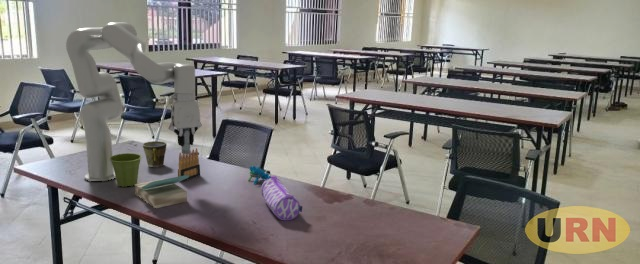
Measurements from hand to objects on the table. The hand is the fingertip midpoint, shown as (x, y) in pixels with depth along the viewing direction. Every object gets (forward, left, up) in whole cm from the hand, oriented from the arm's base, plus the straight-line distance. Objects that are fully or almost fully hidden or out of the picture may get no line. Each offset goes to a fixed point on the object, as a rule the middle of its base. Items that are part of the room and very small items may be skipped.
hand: (185, 144), depth 201 cm
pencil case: (+41, +15, -18) cm, 47 cm away
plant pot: (-18, -17, -18) cm, 30 cm away
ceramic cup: (-35, +2, -18) cm, 39 cm away
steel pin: (0, 0, -3) cm, 3 cm away
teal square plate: (+9, -13, -11) cm, 19 cm away
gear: (+10, +27, -18) cm, 34 cm away
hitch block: (+4, -13, -18) cm, 22 cm away
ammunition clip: (-11, +6, -18) cm, 22 cm away
